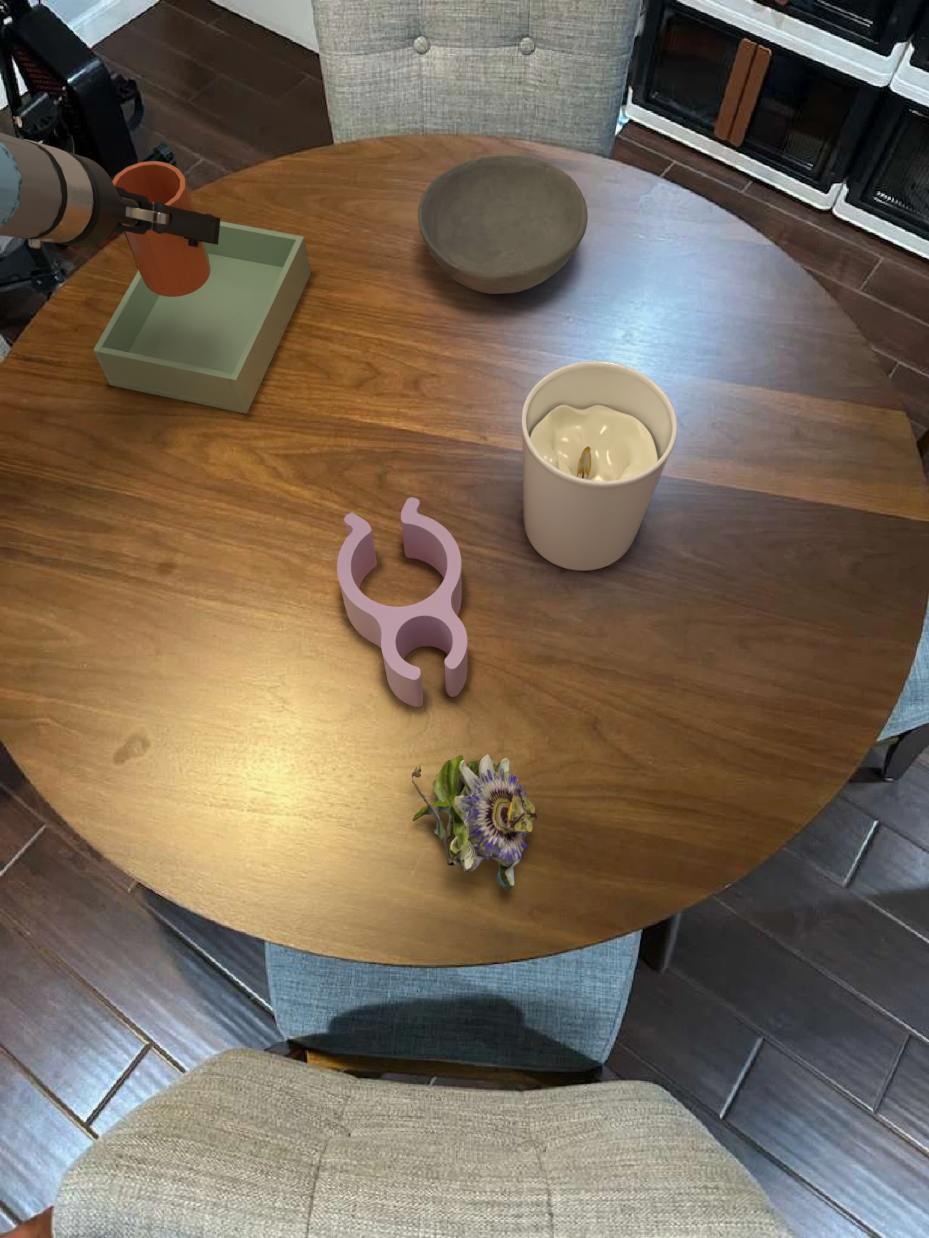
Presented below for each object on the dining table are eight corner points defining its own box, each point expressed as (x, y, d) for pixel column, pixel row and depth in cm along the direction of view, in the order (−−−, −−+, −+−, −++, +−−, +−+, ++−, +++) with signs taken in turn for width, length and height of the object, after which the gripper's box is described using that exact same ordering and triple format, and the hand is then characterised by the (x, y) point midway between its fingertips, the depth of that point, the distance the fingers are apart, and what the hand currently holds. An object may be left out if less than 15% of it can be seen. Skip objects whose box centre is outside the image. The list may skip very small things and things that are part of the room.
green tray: (109, 385, 116) (92, 350, 111) (184, 249, 127) (171, 211, 122) (247, 414, 114) (236, 380, 109) (311, 274, 125) (304, 236, 119)
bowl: (585, 323, 121) (592, 273, 114) (417, 322, 121) (414, 273, 114) (577, 205, 130) (583, 153, 123) (422, 205, 131) (420, 152, 123)
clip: (495, 684, 98) (497, 656, 92) (377, 719, 97) (371, 692, 91) (439, 526, 107) (437, 490, 101) (330, 555, 105) (321, 520, 99)
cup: (131, 290, 104) (97, 204, 95) (159, 242, 108) (128, 155, 98) (195, 303, 104) (167, 218, 94) (221, 255, 107) (196, 168, 97)
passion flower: (511, 847, 96) (546, 896, 85) (402, 853, 94) (423, 904, 82) (514, 737, 95) (550, 771, 83) (404, 740, 92) (425, 776, 81)
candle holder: (505, 475, 110) (511, 366, 94) (632, 464, 111) (660, 354, 95) (522, 587, 103) (532, 491, 87) (658, 574, 104) (692, 476, 88)
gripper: (-51, 222, 85) (92, 243, 107) (163, 265, 83) (265, 278, 104) (-50, 129, 83) (96, 170, 104) (171, 171, 80) (273, 203, 102)
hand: (180, 224), depth 104 cm, fingers closed on cup, 7 cm apart
